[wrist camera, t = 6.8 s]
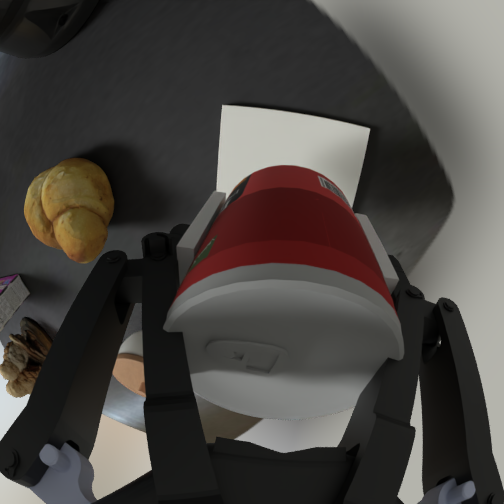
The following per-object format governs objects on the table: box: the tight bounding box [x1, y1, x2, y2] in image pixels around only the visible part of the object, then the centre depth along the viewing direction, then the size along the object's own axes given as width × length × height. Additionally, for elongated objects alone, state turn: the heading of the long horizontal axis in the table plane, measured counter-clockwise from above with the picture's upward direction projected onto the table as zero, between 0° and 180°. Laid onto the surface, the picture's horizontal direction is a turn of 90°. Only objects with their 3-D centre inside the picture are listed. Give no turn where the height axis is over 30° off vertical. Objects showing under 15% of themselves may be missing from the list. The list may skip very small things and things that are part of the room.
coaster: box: [216, 105, 370, 208], centre depth 23 cm, size 12×12×1 cm
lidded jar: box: [113, 330, 146, 397], centre depth 35 cm, size 11×11×9 cm
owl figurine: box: [0, 317, 53, 398], centre depth 41 cm, size 18×12×17 cm, turn 167°
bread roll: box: [24, 158, 114, 263], centre depth 24 cm, size 13×10×8 cm
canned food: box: [163, 165, 404, 420], centre depth 13 cm, size 8×8×11 cm
